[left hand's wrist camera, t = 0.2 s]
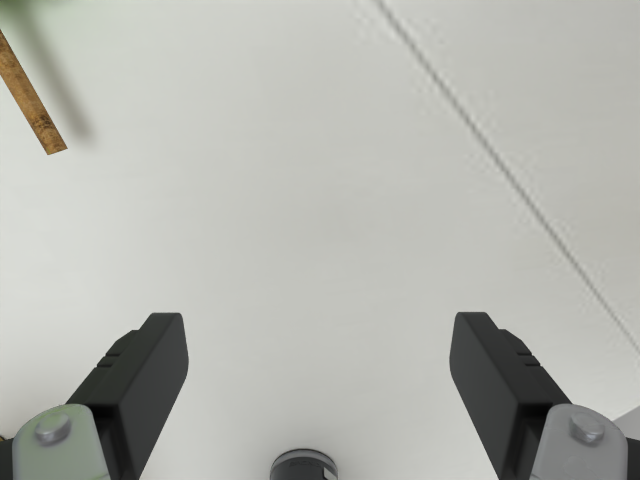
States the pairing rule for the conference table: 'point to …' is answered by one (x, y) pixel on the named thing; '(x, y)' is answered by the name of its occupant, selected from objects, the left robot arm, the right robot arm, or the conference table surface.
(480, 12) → the conference table surface
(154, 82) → the conference table surface
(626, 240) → the conference table surface
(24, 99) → the decorative tree
